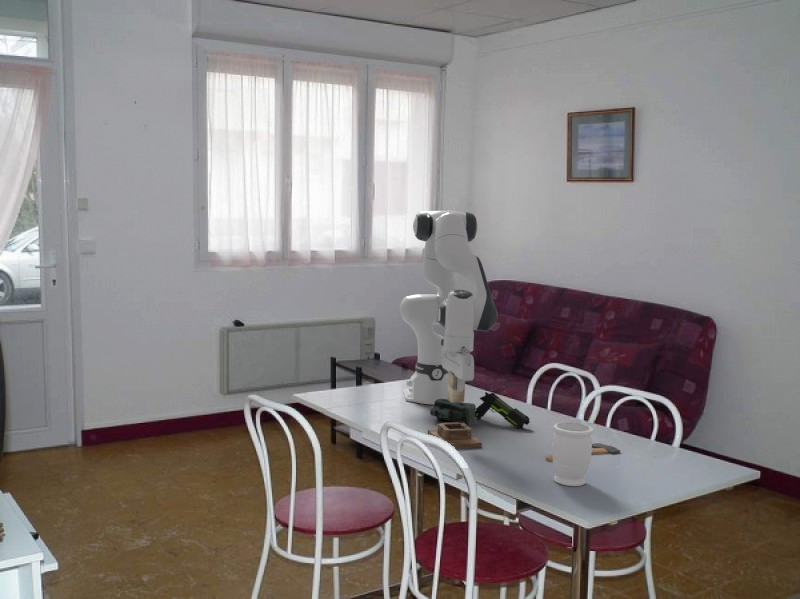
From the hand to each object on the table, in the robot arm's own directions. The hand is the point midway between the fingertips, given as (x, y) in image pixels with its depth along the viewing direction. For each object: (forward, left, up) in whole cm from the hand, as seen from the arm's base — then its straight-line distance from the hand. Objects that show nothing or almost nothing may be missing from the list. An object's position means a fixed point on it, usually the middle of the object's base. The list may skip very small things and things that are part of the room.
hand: (456, 389), depth 255 cm
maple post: (0, 0, -4) cm, 4 cm away
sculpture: (-22, +8, -16) cm, 28 cm away
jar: (+40, +19, -16) cm, 47 cm away
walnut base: (0, 0, -16) cm, 16 cm away
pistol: (-17, +22, -16) cm, 32 cm away
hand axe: (+17, +33, -17) cm, 41 cm away
